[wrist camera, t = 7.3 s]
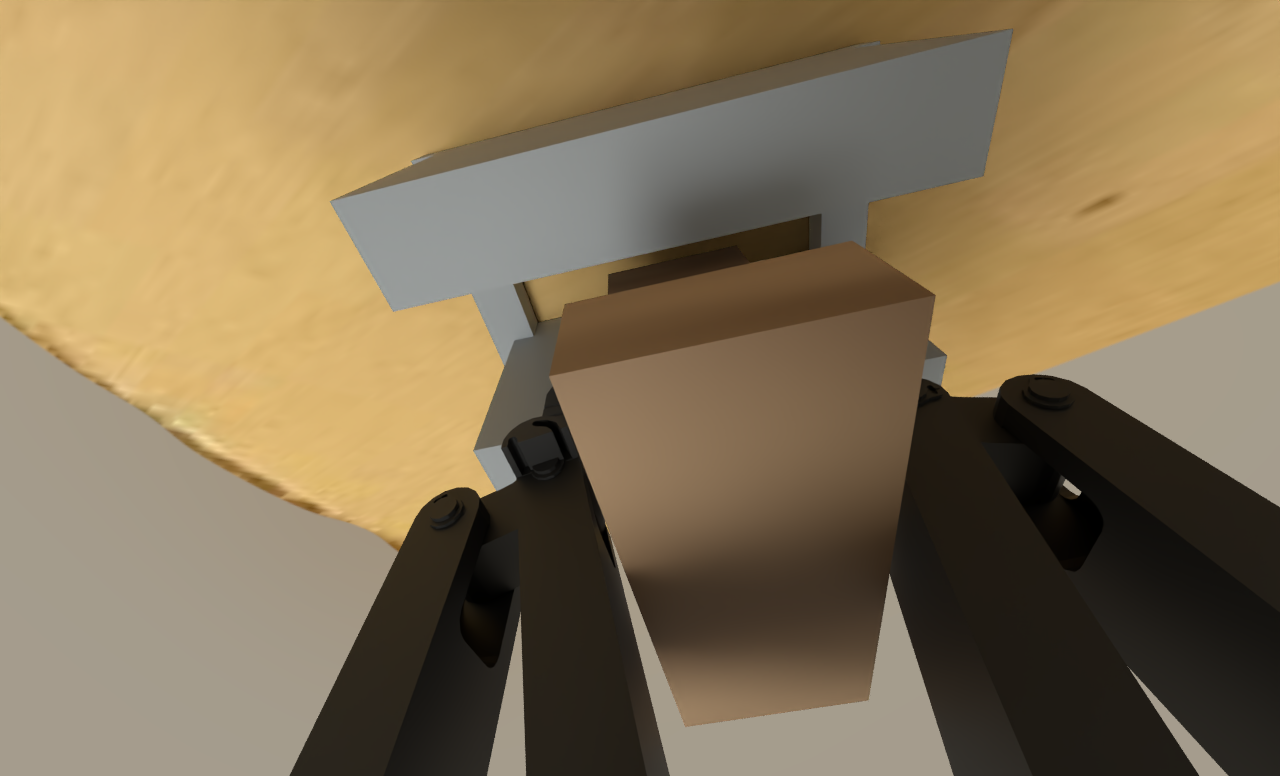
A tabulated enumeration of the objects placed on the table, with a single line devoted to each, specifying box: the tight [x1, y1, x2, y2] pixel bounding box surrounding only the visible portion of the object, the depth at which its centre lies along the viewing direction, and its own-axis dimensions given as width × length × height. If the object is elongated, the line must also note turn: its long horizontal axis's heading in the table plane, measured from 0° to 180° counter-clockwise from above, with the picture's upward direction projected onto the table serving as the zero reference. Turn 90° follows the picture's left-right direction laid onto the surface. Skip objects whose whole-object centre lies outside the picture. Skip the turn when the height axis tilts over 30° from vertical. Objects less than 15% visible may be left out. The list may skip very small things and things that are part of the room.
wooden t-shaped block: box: [549, 241, 936, 727], centre depth 11 cm, size 9×4×10 cm, turn 12°
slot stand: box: [330, 29, 1013, 491], centre depth 18 cm, size 11×18×10 cm, turn 102°
